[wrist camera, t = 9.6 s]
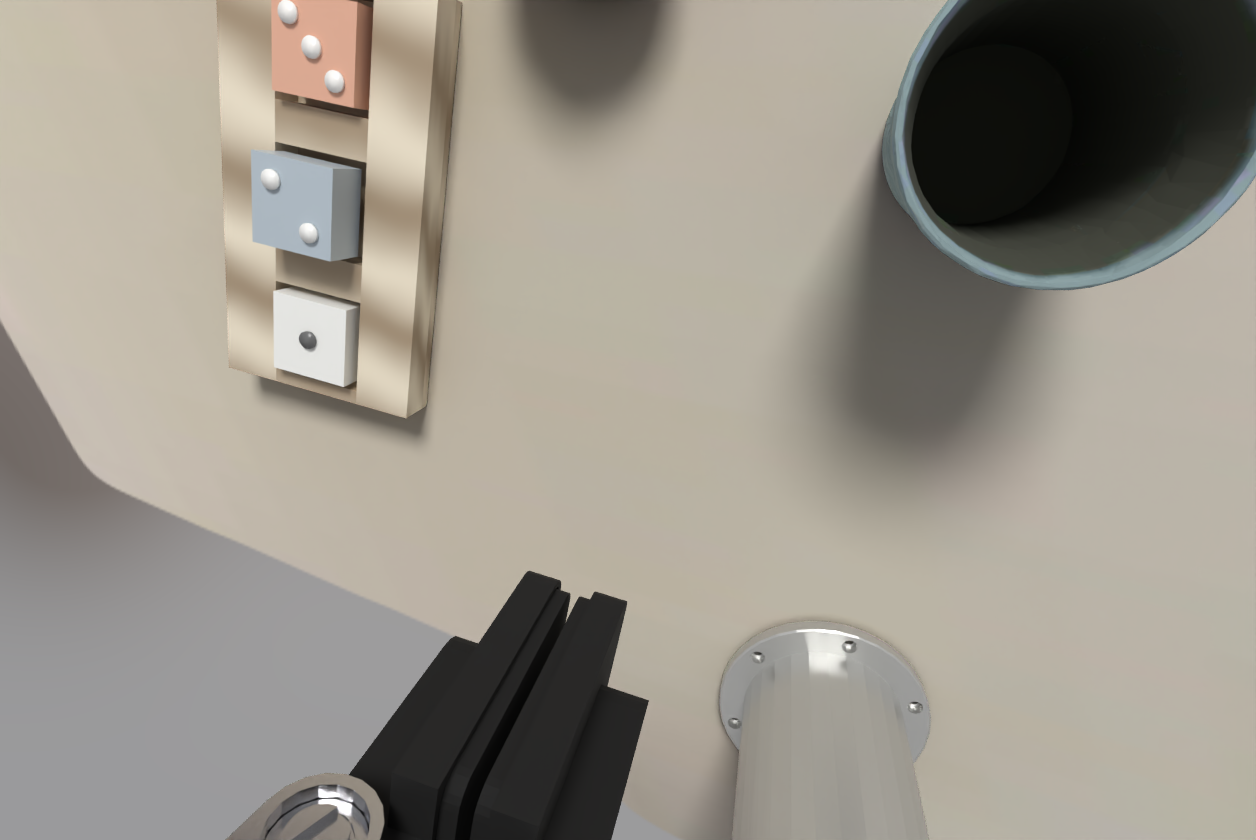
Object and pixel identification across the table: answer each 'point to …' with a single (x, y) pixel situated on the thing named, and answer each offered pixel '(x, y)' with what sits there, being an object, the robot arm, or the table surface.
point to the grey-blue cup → (1074, 133)
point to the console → (389, 204)
